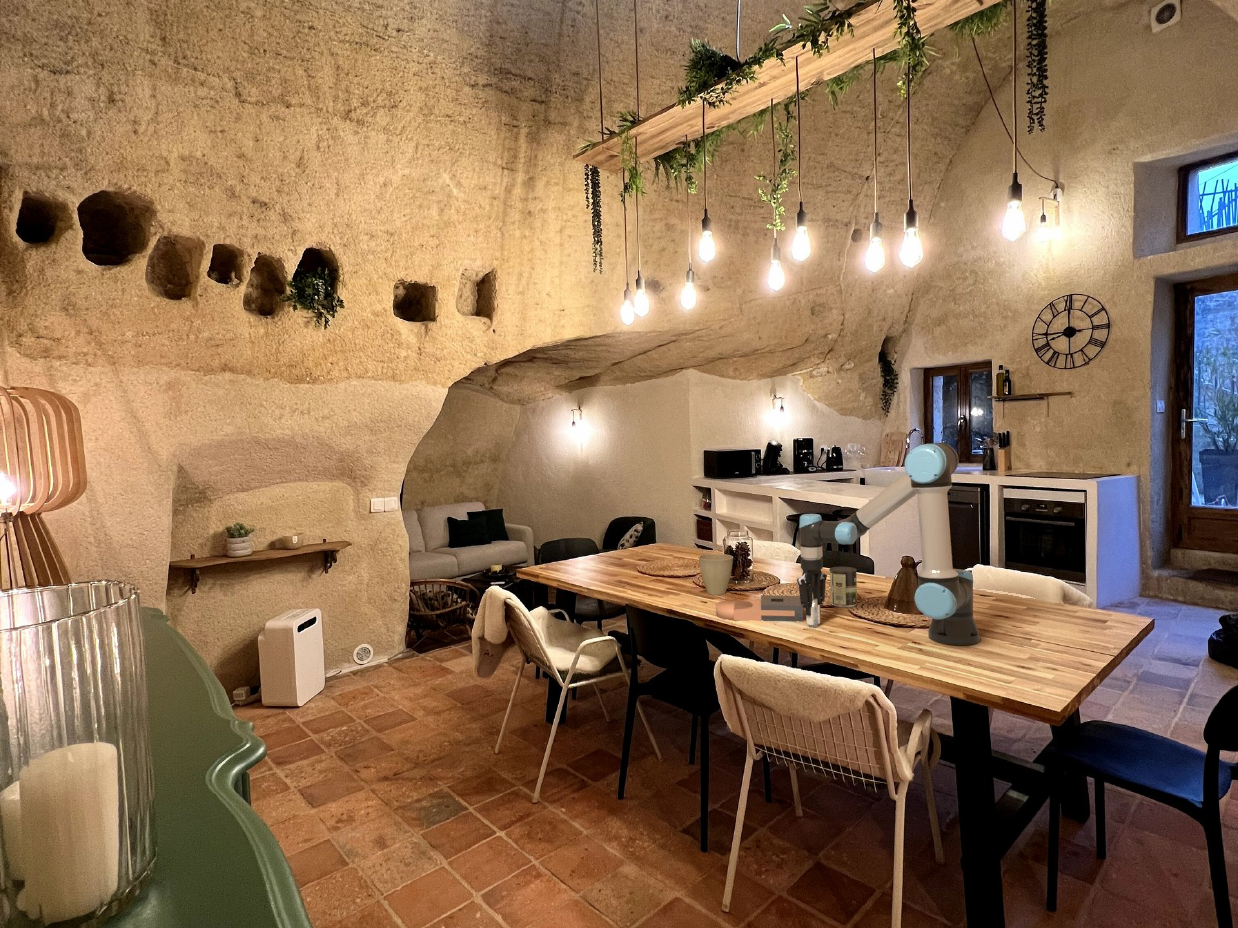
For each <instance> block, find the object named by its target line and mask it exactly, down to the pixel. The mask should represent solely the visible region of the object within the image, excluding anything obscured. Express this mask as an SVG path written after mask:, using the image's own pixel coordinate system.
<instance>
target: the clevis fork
mask: <svg viewBox="0 0 1238 928" xmlns="http://www.w3.org/2000/svg"><path fill="white" fill-rule="evenodd" d="M760 600H761V610H784V611H795V616H766V615H761V620H763V621H765V622H797V621H799V622H800V623H801V622H802V623H803V622H804V605H801V601H800V595H765V594H764V595H760ZM763 621H762V622H763Z"/></svg>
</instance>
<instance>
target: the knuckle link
mask: <svg viewBox="0 0 1238 928" xmlns="http://www.w3.org/2000/svg"><path fill="white" fill-rule="evenodd" d="M715 613H716V615H715V616H716V617H717V618H719V619H723V620H726V619H728V620H727V621H750V620H757V621H756V622H759V621H760V622H762V621H761V615H766V616H795V611H784V610H761V599H760V600H758V599H757V600H754V599H751V600H749V599H748V600H747V599H727V600H722V601H718V602H717V603H716V604H715ZM758 620H759V621H758Z"/></svg>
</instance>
